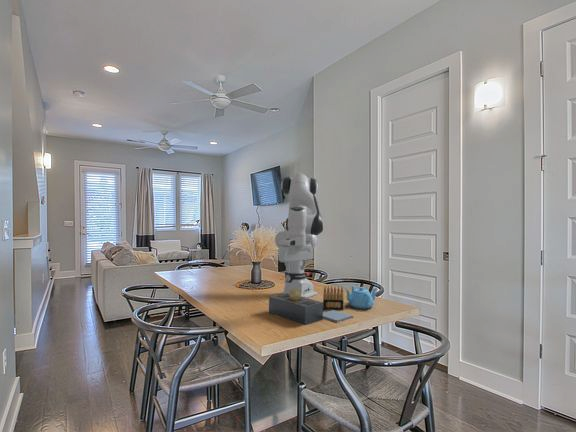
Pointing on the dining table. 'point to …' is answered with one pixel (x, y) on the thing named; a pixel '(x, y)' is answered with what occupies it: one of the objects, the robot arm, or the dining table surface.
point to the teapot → (361, 297)
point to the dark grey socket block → (296, 309)
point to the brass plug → (295, 295)
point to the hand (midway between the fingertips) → (295, 270)
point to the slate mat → (336, 316)
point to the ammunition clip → (333, 299)
